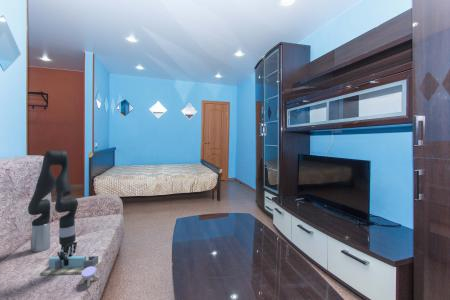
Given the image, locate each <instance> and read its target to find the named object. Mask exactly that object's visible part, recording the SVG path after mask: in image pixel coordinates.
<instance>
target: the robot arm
mask: <svg viewBox="0 0 450 300" xmlns="http://www.w3.org/2000/svg"><path fill="white" fill-rule="evenodd" d="M68 156H69V155H68V153H67V151H66V150H54V149H52V150H51V149H49V150H46V152H45V153H44V155H43V161H42V163H41V164H42V165H41V169H40V174H39V175H38V179H37V182H36V185H35V188H34V192H33V195H32V197H31V199H30V201H29V203H28V206H27V213H28V214H29V215H30V216H37V215H39V216H38V217H37V218H35V219H33V220H31V236H30V252H34V253H39V252H44V251H46V250H48V249H51V227H50V225H51V224H50V222H51V201H50V200H49V199H48V198H46V197H47V196H48V195H50V194H51V192H53V190H54V189H55V192H56V193H55V195H56V200H55V205H54V210H55V212H57V213H59V214H61V213H66V212H68V213H67V214H64V215H62V216H60V217H59V219H58V220H59V221H58V222H59V226H58V227H59V229H58V239H59V240H58V244H59V245H60V250H59V251H57V252H56V253H57V257H59V258H60V260H64V266H68V265H69V259H68V256H74V254H75V253H76V249H77V244H78V242H77V241H76V240H77V239H76V225H75V220H76V219H75V217H76V213H77V209H78V207H79V201H78V199H77V198H75V197H70V198H66V197H69V196H71V194H72V187H71V183H70V170H69V168H70V167H69V157H68ZM52 166H61V170H60V172H59V173H58V176H57V177H55V175H54V173H53V172H52V170H51V167H52ZM64 198H65V199H64ZM65 256H66V257H65Z"/></svg>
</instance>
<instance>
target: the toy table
mask: <svg viewBox="0 0 450 300" xmlns="http://www.w3.org/2000/svg"><path fill="white" fill-rule="evenodd" d="M96 272H97V268H95V267H93V266H90V267H87V268H85V269H84V270H83V271H82V274H81V277H82V278H81V279H80V280H79V281H78V284H77V285H83V284H85V281H86V280H87V281H86V283H87V284H86V287H87V288H88V287H90V285H91V279H92V280H93V282H94V281H98V280H100V276H98V275H96Z"/></svg>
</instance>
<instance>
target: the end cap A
mask: <svg viewBox="0 0 450 300" xmlns="http://www.w3.org/2000/svg"><path fill="white" fill-rule="evenodd" d="M60 268H61V261H56V262H55V269H60Z"/></svg>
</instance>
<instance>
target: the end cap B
mask: <svg viewBox="0 0 450 300" xmlns="http://www.w3.org/2000/svg"><path fill="white" fill-rule="evenodd" d="M87 258H88V259H86V260H85V261H84V268H87V267H90V266H93V267H95V266H96V265H97V264H98V260H99V255H89V256H88V257H87Z"/></svg>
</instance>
